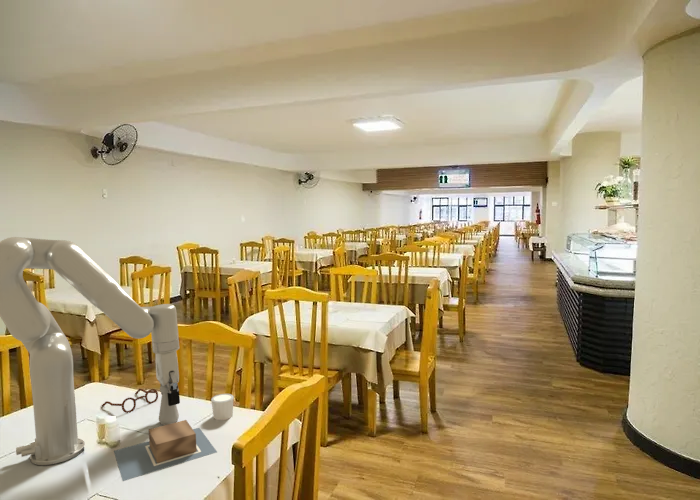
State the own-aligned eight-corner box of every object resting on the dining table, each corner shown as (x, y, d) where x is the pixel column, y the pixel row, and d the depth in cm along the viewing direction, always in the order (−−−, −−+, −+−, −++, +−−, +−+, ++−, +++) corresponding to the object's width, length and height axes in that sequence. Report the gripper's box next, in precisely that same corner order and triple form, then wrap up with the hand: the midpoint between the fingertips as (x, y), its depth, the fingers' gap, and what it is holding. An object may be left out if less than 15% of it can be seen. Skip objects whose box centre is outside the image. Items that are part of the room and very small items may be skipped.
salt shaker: (165, 430, 138) (163, 388, 137) (155, 425, 142) (153, 384, 141) (183, 423, 143) (181, 382, 142) (172, 418, 146) (170, 378, 145)
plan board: (123, 484, 111) (122, 480, 111) (113, 454, 125) (113, 450, 125) (217, 455, 124) (217, 451, 124) (199, 430, 138) (199, 427, 138)
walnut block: (157, 463, 119) (156, 444, 118) (149, 446, 127) (148, 429, 127) (196, 451, 124) (195, 433, 124) (186, 436, 133) (186, 419, 132)
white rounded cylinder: (238, 418, 146) (238, 397, 145) (219, 426, 141) (218, 404, 140) (226, 412, 151) (226, 391, 150) (207, 419, 146) (206, 398, 145)
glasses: (123, 416, 150) (122, 401, 149) (101, 407, 157) (100, 393, 156) (159, 401, 161) (158, 387, 160) (136, 394, 168) (135, 380, 167)
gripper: (147, 341, 145) (151, 393, 147) (158, 355, 131) (163, 412, 133) (172, 336, 149) (176, 387, 151) (186, 349, 135) (190, 405, 137)
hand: (170, 399), depth 142 cm, fingers open, 9 cm apart
